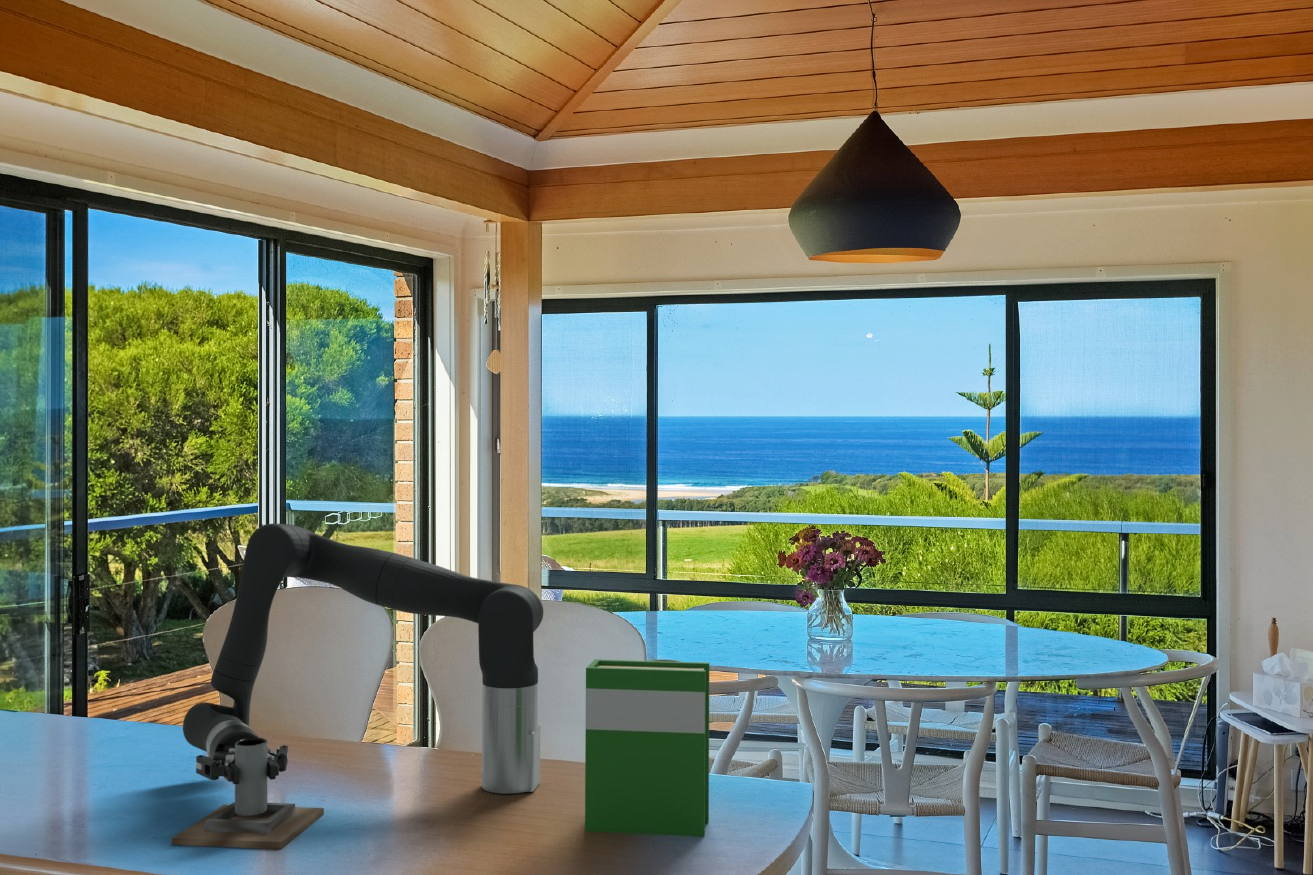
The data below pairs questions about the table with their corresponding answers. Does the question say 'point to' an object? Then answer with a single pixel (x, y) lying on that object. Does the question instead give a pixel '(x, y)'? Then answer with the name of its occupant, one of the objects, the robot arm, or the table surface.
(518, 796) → the table surface
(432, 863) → the table surface
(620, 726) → the hardback book
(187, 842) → the base
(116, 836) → the table surface
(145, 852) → the table surface
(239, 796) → the grey cylinder
